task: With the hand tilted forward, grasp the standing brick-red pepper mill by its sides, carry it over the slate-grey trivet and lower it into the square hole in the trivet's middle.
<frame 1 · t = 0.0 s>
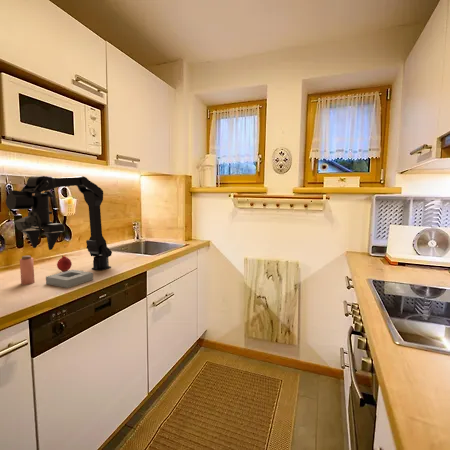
hand: (42, 248, 105), 15 cm above the worktop, tool pointing down, fingers open, 9 cm apart
onion: (64, 272, 126), on the worktop
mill: (27, 282, 110), on the worktop
socket board: (70, 281, 112), on the worktop
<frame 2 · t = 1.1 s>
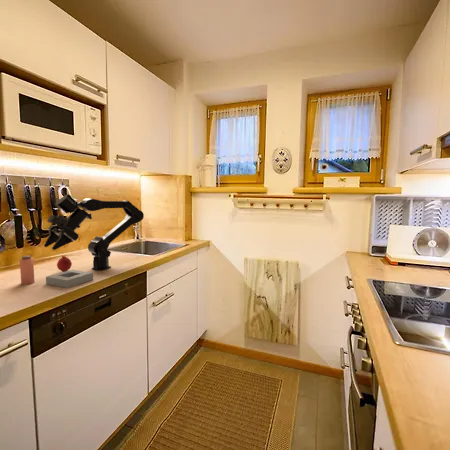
hand: (48, 247, 114), 13 cm above the worktop, tool tilted 45°, fingers open, 9 cm apart
nothing on the worktop moved.
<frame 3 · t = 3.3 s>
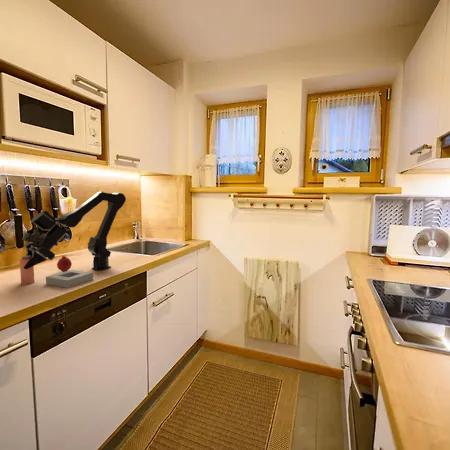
hand: (22, 267, 108), 7 cm above the worktop, tool tilted 45°, fingers closed on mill, 4 cm apart
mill: (27, 282, 110), on the worktop, touching gripper
everything else where it was.
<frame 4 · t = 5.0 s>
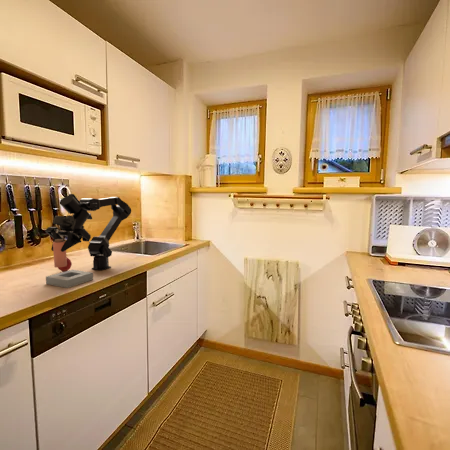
hand: (56, 250, 108), 13 cm above the worktop, tool tilted 45°, fingers closed on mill, 4 cm apart
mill: (60, 266, 110), point 7 cm above the worktop, touching gripper
everything else where it was.
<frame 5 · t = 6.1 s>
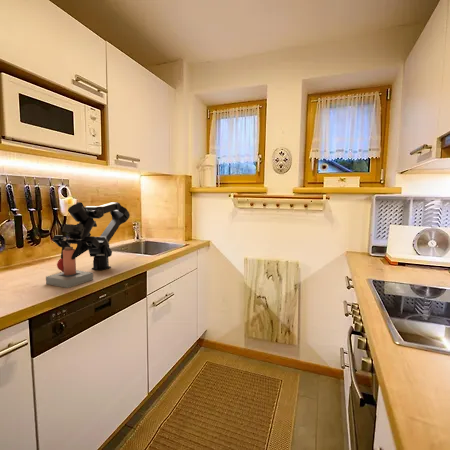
hand: (66, 258, 109), 10 cm above the worktop, tool tilted 45°, fingers closed on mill, 4 cm apart
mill: (70, 273, 111), point 3 cm above the worktop, touching gripper
everything else where it was.
when the fingers open (8 cm above the worktop, at t = 6.9 s): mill drops 1 cm, resting in socket board.
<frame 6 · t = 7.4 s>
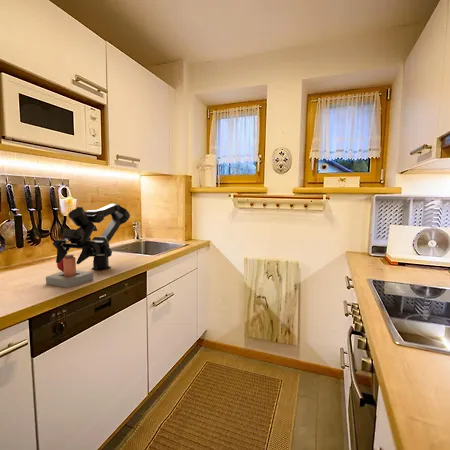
hand: (67, 263, 110), 8 cm above the worktop, tool tilted 45°, fingers open, 9 cm apart
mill: (70, 281, 112), resting in socket board
everything else where it was.
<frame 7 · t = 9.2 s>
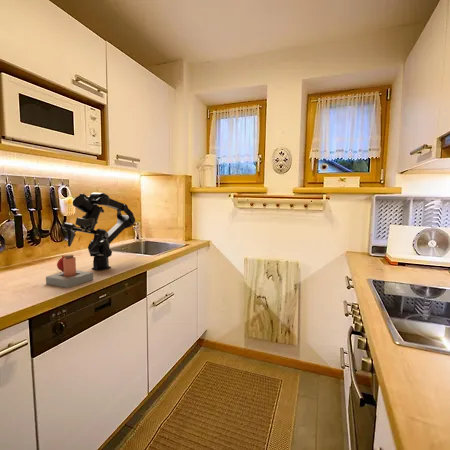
hand: (79, 248, 119), 12 cm above the worktop, tool tilted 30°, fingers open, 9 cm apart
nothing on the worktop moved.
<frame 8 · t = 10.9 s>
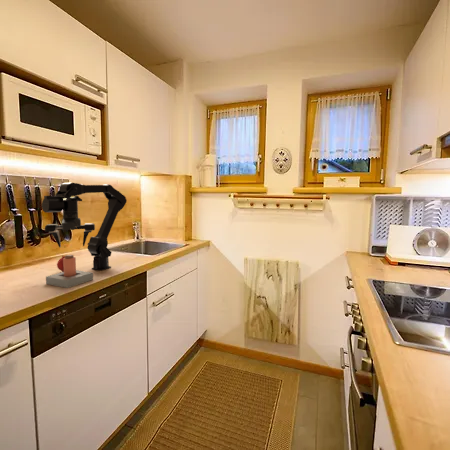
hand: (71, 246, 119), 13 cm above the worktop, tool pointing down, fingers open, 9 cm apart
nothing on the worktop moved.
at the end: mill 0.0 cm off-centre on the socket board, point 0.0 cm above the socket board's base; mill tilted 0°; the gripper is holding nothing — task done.
